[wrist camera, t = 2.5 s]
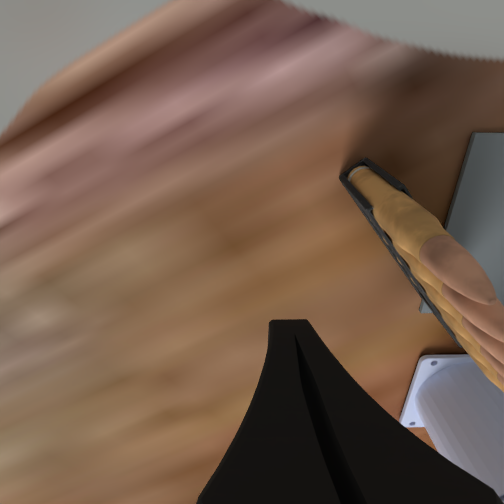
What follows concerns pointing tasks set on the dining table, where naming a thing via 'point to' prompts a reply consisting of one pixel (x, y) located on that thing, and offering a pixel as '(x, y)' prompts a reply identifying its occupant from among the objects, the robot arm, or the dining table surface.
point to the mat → (480, 208)
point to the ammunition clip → (433, 265)
